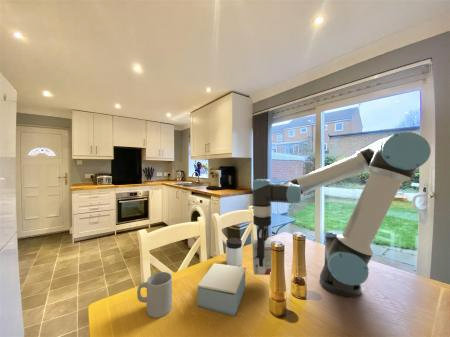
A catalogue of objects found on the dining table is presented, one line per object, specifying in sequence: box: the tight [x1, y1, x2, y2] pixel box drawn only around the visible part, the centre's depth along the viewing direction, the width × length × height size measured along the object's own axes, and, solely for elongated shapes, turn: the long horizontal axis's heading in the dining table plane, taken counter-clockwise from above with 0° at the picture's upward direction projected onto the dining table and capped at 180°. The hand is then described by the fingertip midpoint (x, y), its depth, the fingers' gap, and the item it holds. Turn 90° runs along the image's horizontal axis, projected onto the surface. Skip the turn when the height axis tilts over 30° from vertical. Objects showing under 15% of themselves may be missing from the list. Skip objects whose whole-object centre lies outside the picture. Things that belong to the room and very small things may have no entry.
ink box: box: [251, 239, 273, 276], centre depth 83 cm, size 9×9×12 cm
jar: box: [225, 237, 243, 267], centre depth 101 cm, size 9×8×12 cm
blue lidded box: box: [197, 272, 246, 317], centre depth 75 cm, size 14×16×7 cm
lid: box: [197, 263, 247, 294], centre depth 75 cm, size 14×16×1 cm
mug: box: [136, 271, 173, 319], centre depth 68 cm, size 12×8×11 cm
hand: (263, 267), depth 83 cm, fingers closed on ink box, 9 cm apart
